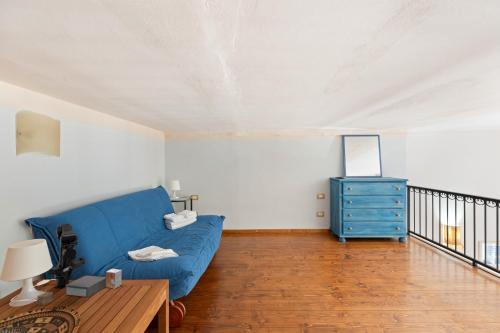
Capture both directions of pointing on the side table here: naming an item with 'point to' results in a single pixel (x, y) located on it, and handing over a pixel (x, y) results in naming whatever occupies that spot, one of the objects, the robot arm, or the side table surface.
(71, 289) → the tray
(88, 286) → the housing
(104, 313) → the side table surface
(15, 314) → the side table surface
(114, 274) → the small box
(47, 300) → the pedestal
